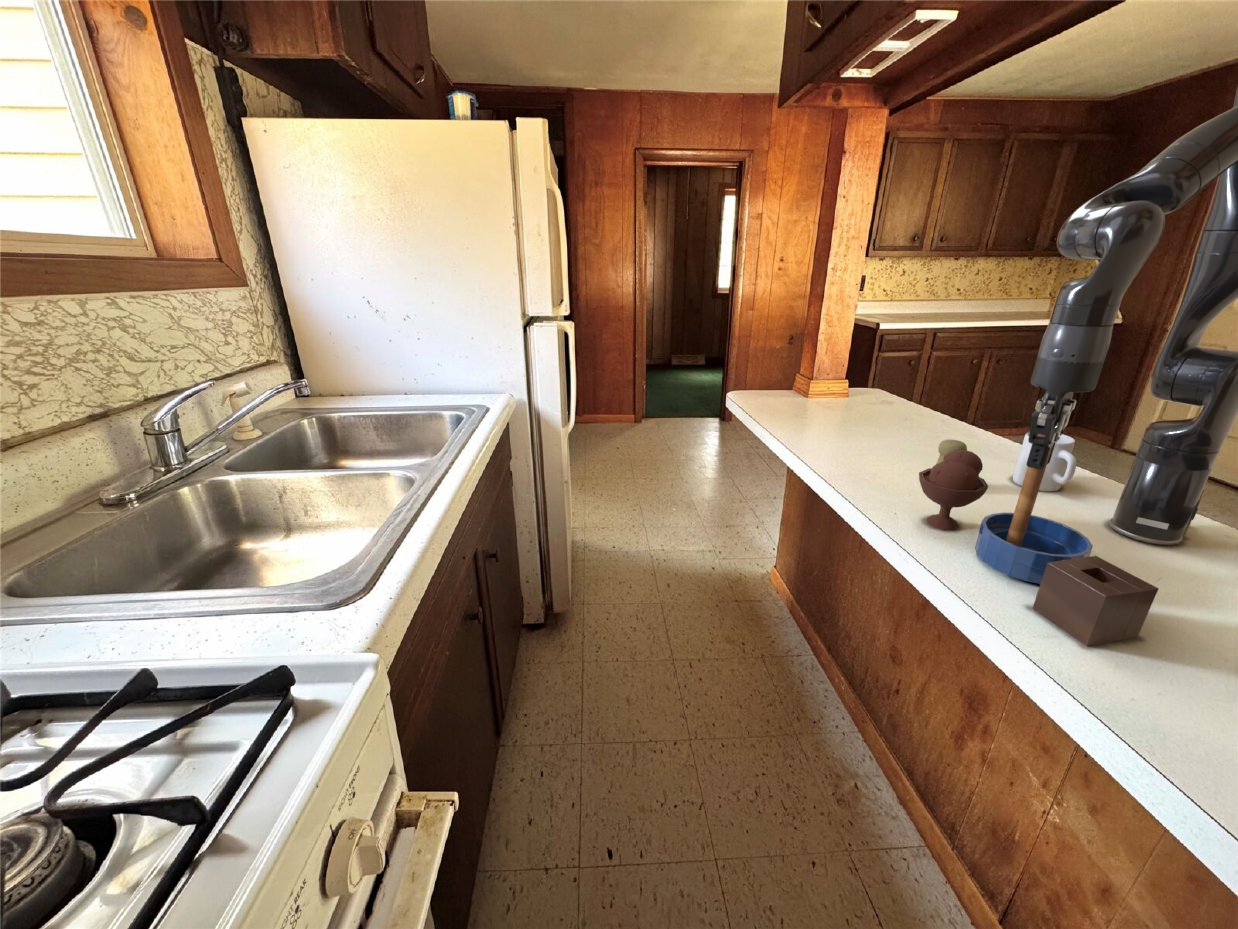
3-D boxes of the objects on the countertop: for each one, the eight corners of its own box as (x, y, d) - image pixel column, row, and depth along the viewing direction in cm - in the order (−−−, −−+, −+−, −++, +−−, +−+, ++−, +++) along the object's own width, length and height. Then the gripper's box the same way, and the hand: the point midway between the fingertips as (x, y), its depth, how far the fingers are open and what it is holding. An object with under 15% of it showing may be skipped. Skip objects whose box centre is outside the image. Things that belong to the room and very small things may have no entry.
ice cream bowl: (915, 505, 106) (930, 437, 100) (980, 521, 99) (999, 448, 93) (903, 526, 98) (918, 454, 93) (972, 544, 92) (992, 467, 86)
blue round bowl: (1024, 538, 93) (1032, 508, 91) (1104, 583, 80) (1117, 550, 78) (954, 547, 91) (961, 517, 89) (1025, 595, 78) (1036, 561, 76)
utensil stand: (1078, 601, 76) (1095, 555, 73) (1137, 637, 69) (1159, 588, 66) (1032, 608, 75) (1047, 562, 72) (1086, 646, 68) (1106, 596, 65)
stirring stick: (1012, 543, 88) (1045, 432, 80) (1023, 549, 86) (1059, 437, 78) (1001, 544, 87) (1033, 433, 80) (1012, 551, 85) (1046, 438, 78)
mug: (1003, 476, 118) (1015, 431, 113) (1040, 475, 117) (1054, 430, 113) (1043, 499, 106) (1058, 450, 102) (1084, 498, 106) (1101, 449, 102)
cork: (930, 491, 112) (940, 444, 108) (925, 480, 117) (935, 435, 113) (962, 495, 110) (974, 447, 105) (956, 484, 115) (967, 438, 111)
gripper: (1093, 365, 67) (1055, 484, 74) (1114, 352, 76) (1078, 460, 82) (1024, 358, 73) (994, 470, 79) (1051, 346, 81) (1022, 448, 87)
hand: (1037, 464), depth 81 cm, fingers closed on stirring stick, 2 cm apart
